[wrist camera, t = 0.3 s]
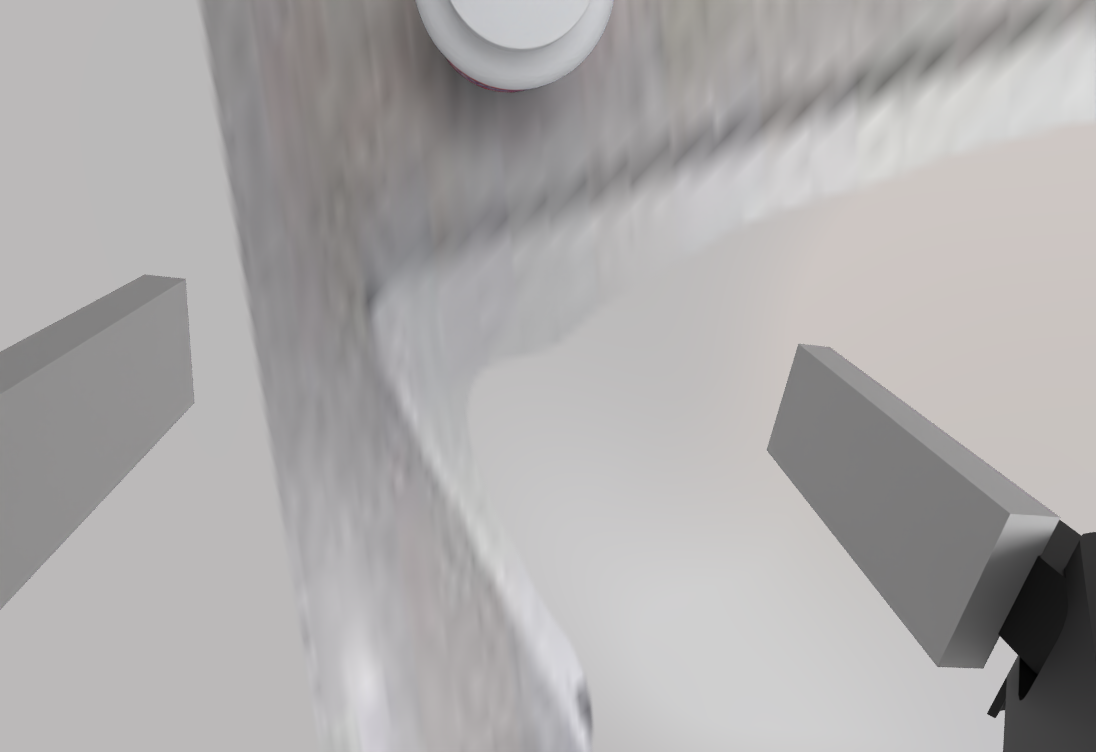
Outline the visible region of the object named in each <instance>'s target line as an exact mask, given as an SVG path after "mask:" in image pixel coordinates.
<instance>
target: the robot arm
mask: <svg viewBox="0 0 1096 752" xmlns="http://www.w3.org/2000/svg"><path fill="white" fill-rule="evenodd" d="M193 404H194V392H193V378H192V364H191V350H190V336H189V322H188V308H187V294H186V280H185V279H180V278H171V277H162V276H152V275H143V276H141V277H139V278H138V279H136V280H134V281H132V282H130V283H128V284H126V285H124V286H123V287H121V288H119V289H117V290H115V291H113V292H111V293H110V294H108V295H106V296H104V297H102V298H100V299H98V300H96V301H95V302H93V303H91V304H89V305H87V306H85V307H83V308H81V309H80V310H78V311H76V312H74V313H72V314H70V315H68V316H67V317H65V318H63V319H61V320H59V321H57V322H55V323H53V324H52V325H50V326H48V327H46V328H44V329H42V330H40V331H39V332H37V333H35V334H33V335H31V336H29V337H27V338H26V339H24V340H22V341H20V342H18V343H16V344H14V345H13V346H11V347H9V348H7V349H5V350H3V351H1V352H0V610H1V608H2V607H3V606H4V605H5V604H6V603H7V602H8V601H9V600H10V599H11V598H12V597H13V596H14V595H15V594H16V592H17V591H18V590H19V589H20V588H21V587H22V586H23V585H24V584H25V583H26V582H27V581H28V580H29V579H30V578H31V576H32V575H33V574H34V573H35V572H36V571H37V570H38V569H39V568H40V567H41V566H42V565H43V564H44V563H45V562H46V560H47V559H48V558H49V557H50V556H51V555H52V554H53V553H54V552H55V551H56V550H57V549H58V548H59V547H60V545H61V544H62V543H63V542H64V541H65V540H66V539H67V538H68V537H69V536H70V535H71V534H72V533H73V532H74V531H75V529H76V528H77V527H78V526H79V525H80V524H81V523H82V522H83V521H84V520H85V519H86V518H87V517H88V516H89V515H90V514H91V512H92V511H93V510H94V509H95V508H96V507H97V506H98V505H99V504H100V503H101V502H102V501H103V500H104V499H105V497H106V496H107V495H108V494H109V493H110V492H111V491H112V490H113V489H114V488H115V487H116V486H117V485H118V484H119V483H120V482H121V480H122V479H123V478H124V477H125V476H126V475H127V474H128V473H129V472H130V471H131V470H132V469H133V468H134V467H135V465H136V464H137V463H138V462H139V461H140V460H141V459H142V458H143V457H144V456H145V455H146V454H147V453H148V452H149V451H150V449H151V448H152V447H153V446H154V445H155V444H156V443H157V442H158V441H159V440H160V439H161V438H162V437H163V436H164V434H165V433H166V432H167V431H168V430H169V429H170V428H171V427H172V426H173V425H174V424H175V423H176V421H178V419H180V417H181V416H182V415H183V414H184V413H185V412H186V411H187V410H188V409H189V408H190V407H191V406H192V405H193ZM767 451H768V452H769V454H770V455H771V456H772V457H773V459H774V460H775V461H776V462H777V464H778V465H779V466H780V468H781V469H782V470H783V471H784V473H785V474H786V475H787V476H788V478H789V479H790V480H791V481H792V483H793V484H794V485H795V486H796V488H797V489H798V490H799V492H800V493H801V494H802V495H803V497H804V498H805V499H806V501H807V502H808V503H809V504H810V506H811V507H812V508H813V509H814V511H815V512H816V513H817V514H818V516H819V517H820V518H821V519H822V521H823V522H824V523H825V525H826V526H827V527H828V528H829V530H830V531H831V532H832V534H833V535H834V536H835V537H836V538H837V540H838V541H839V542H840V544H841V545H842V546H843V547H844V549H845V550H846V551H847V553H849V555H850V556H851V558H852V559H853V560H854V561H855V563H856V564H857V565H858V567H859V568H860V569H861V570H862V571H863V573H864V574H865V575H866V576H867V578H868V579H869V580H870V582H871V583H872V584H873V585H874V587H875V588H876V589H877V591H878V592H879V593H880V594H881V596H882V597H883V598H884V600H885V601H886V602H887V603H888V605H889V606H890V607H891V608H892V610H893V611H894V612H895V613H896V615H897V616H898V617H899V619H900V620H901V621H902V622H903V624H904V625H905V626H906V627H907V629H908V630H909V631H910V632H911V634H912V635H913V636H914V638H915V639H916V640H917V641H918V643H919V644H920V645H921V646H922V648H923V649H924V650H925V651H926V653H927V654H928V655H929V657H930V658H931V659H932V660H933V662H934V663H935V664H936V665H937V667H958V668H984V666H985V664H986V662H987V659H988V658H989V656H990V654H991V652H992V650H993V648H994V646H995V644H996V642H997V640H998V638H999V636H1001V637H1002V638H1003V640H1004V641H1005V642H1006V643H1007V644H1008V645H1009V646H1010V647H1011V648H1012V649H1013V650H1014V651H1015V652H1016V653H1017V654H1018V657H1017V659H1016V660H1015V662H1014V664H1013V666H1012V668H1011V670H1010V672H1009V674H1008V675H1007V677H1006V679H1005V681H1004V683H1003V685H1002V687H1001V688H1000V690H999V692H998V694H997V696H996V698H995V700H994V702H993V703H992V705H991V707H990V709H989V711H988V713H987V714H988V715H990V716H992V717H994V718H996V716H997V715H998V713H999V711H1001V710H1005V727H1004V746H1003V752H1096V532H1093V533H1086V534H1083V535H1082V536H1081V535H1080V534H1078V533H1077V532H1075V531H1074V530H1073V529H1071V528H1070V527H1069V526H1067V525H1066V524H1065V523H1063V522H1062V521H1061V520H1059V519H1060V517H1059V516H1058V515H1056V514H1055V513H1054V512H1052V511H1051V510H1050V509H1048V508H1047V507H1045V506H1044V505H1043V504H1042V503H1040V502H1039V501H1038V500H1036V499H1035V498H1033V497H1032V496H1031V495H1029V494H1028V493H1027V492H1025V491H1024V490H1023V489H1021V488H1020V487H1019V486H1017V485H1016V484H1015V483H1013V482H1012V481H1010V480H1009V479H1008V478H1006V477H1005V476H1004V475H1002V474H1001V473H1000V472H998V471H997V470H995V469H994V468H993V467H991V466H990V465H989V464H987V463H986V462H985V461H983V460H982V459H981V458H979V457H978V456H977V455H975V454H974V453H972V452H971V451H970V450H968V449H967V448H965V447H964V446H963V445H961V444H960V443H959V442H958V441H956V440H955V439H954V438H952V437H951V436H949V435H948V434H947V433H945V432H944V431H943V430H941V429H940V428H938V427H937V426H936V425H935V424H933V423H932V422H930V421H929V420H928V419H927V418H925V417H924V416H922V415H921V414H920V413H918V412H917V411H916V410H914V409H913V408H911V407H910V406H909V405H908V404H906V403H905V402H903V401H902V400H901V399H899V398H898V397H896V396H895V395H894V394H893V393H891V392H890V391H888V390H887V389H886V388H885V387H883V386H882V385H880V384H879V383H878V382H876V381H875V380H873V379H872V378H871V377H870V376H868V375H867V374H866V373H864V372H863V371H862V370H860V369H859V368H857V367H856V366H855V365H853V364H852V363H851V362H849V361H848V360H847V359H845V358H844V357H843V356H841V355H840V354H838V353H837V352H836V351H834V350H833V349H832V348H830V347H823V346H814V345H805V344H798V347H797V350H796V354H795V357H794V361H793V364H792V367H791V371H790V374H789V377H788V381H787V384H786V387H785V391H784V394H783V398H782V401H781V404H780V407H779V411H778V414H777V417H776V421H775V424H774V427H773V431H772V434H771V438H770V441H769V445H768V447H767Z"/></svg>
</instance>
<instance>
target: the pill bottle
mask: <svg viewBox="0 0 1096 752" xmlns="http://www.w3.org/2000/svg"><path fill="white" fill-rule="evenodd" d="M415 1H416V5H417V8H418V11H419V14H420V17H421V19H422V22H423V24H424V26H425V28H426V30H427V32H428V34H429V36H430V38H431V39H432V41H433V42H434V44H435V45H436V47H437V48H438V49H439V50H440V52H441V53H442V54H443V55H444V57H445V58H446V59H447V61H448V62H449V63H450V65H451V66H452V67H453V68H454V69H455V70H456V71H457V72H458V73H459V74H461V75H462V76H463V77H464V78H466V79H467V80H469V81H470V82H472V83H474V84H476V85H478V86H480V87H483V88H485V89H488V90H493V91H498V92H518V91H524V90H528V89H533V88H537V87H541V86H544V85H547V84H550V83H552V82H554V81H557V80H558V79H560V78H562V77H564V76H565V75H567V74H569V73H570V72H571V71H572V70H574V69H575V68H576V67H577V66H579V65H580V64H581V63H582V62H583V61H584V60H585V59H586V58H587V56H588V55H589V54H590V53H591V52H592V50H593V49H594V47H595V46H596V44H597V43H598V41H599V39H600V38H601V36H602V34H603V32H604V30H605V28H606V25H607V23H608V21H609V18H610V14H611V11H612V7H613V3H614V0H415Z"/></svg>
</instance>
